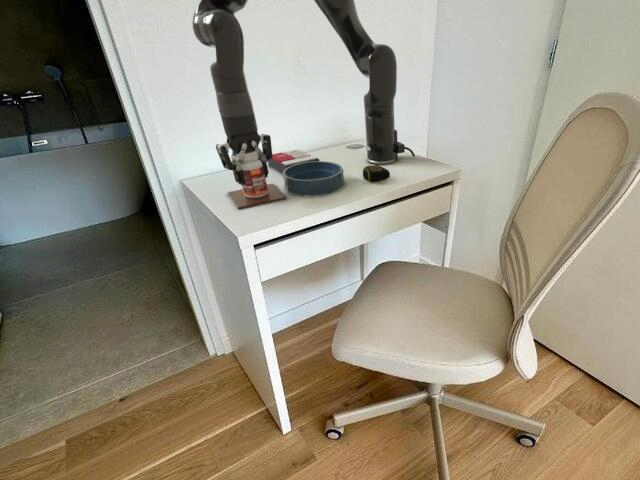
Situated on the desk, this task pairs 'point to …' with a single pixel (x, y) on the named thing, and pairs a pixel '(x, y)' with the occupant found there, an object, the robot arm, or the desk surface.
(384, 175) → the tape measure
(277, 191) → the coaster
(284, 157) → the calculator
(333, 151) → the desk surface
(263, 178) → the pill bottle
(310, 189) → the bowl
